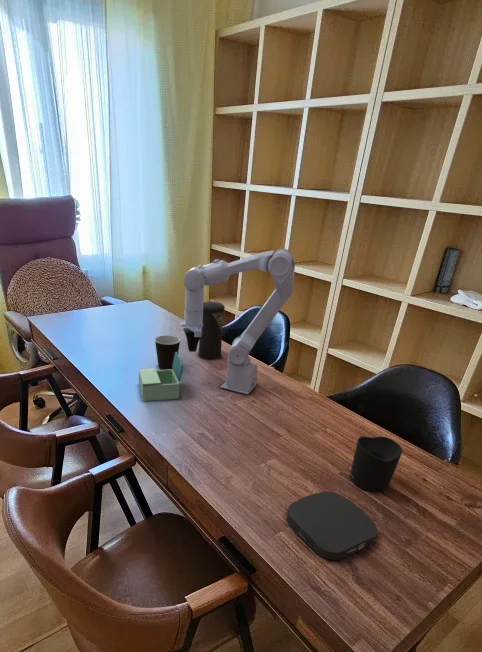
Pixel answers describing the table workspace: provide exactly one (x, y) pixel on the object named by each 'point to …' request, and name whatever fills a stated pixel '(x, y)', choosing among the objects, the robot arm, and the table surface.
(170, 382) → the box
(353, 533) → the media streaming box
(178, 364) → the lid
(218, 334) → the container
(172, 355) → the coffee mug
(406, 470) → the table surface
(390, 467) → the pen holder
